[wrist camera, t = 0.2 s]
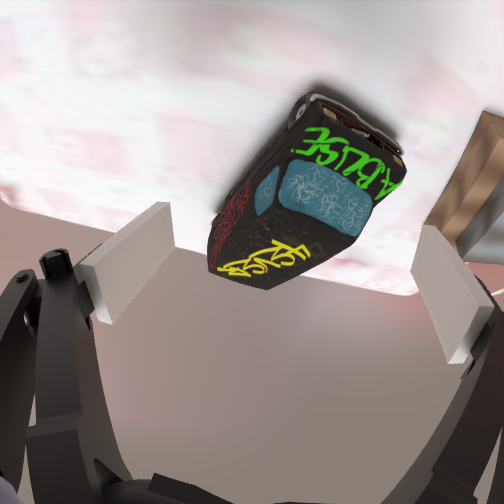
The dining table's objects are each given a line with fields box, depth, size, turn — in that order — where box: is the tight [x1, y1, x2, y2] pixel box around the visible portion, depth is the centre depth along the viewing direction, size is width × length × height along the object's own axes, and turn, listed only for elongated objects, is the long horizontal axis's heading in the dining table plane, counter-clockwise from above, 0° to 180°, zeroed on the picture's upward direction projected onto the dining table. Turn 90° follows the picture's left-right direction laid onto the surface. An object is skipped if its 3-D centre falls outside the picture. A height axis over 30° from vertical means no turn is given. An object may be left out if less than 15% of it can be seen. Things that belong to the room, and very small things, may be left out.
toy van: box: [207, 93, 407, 290], centre depth 30 cm, size 11×25×10 cm, turn 153°
